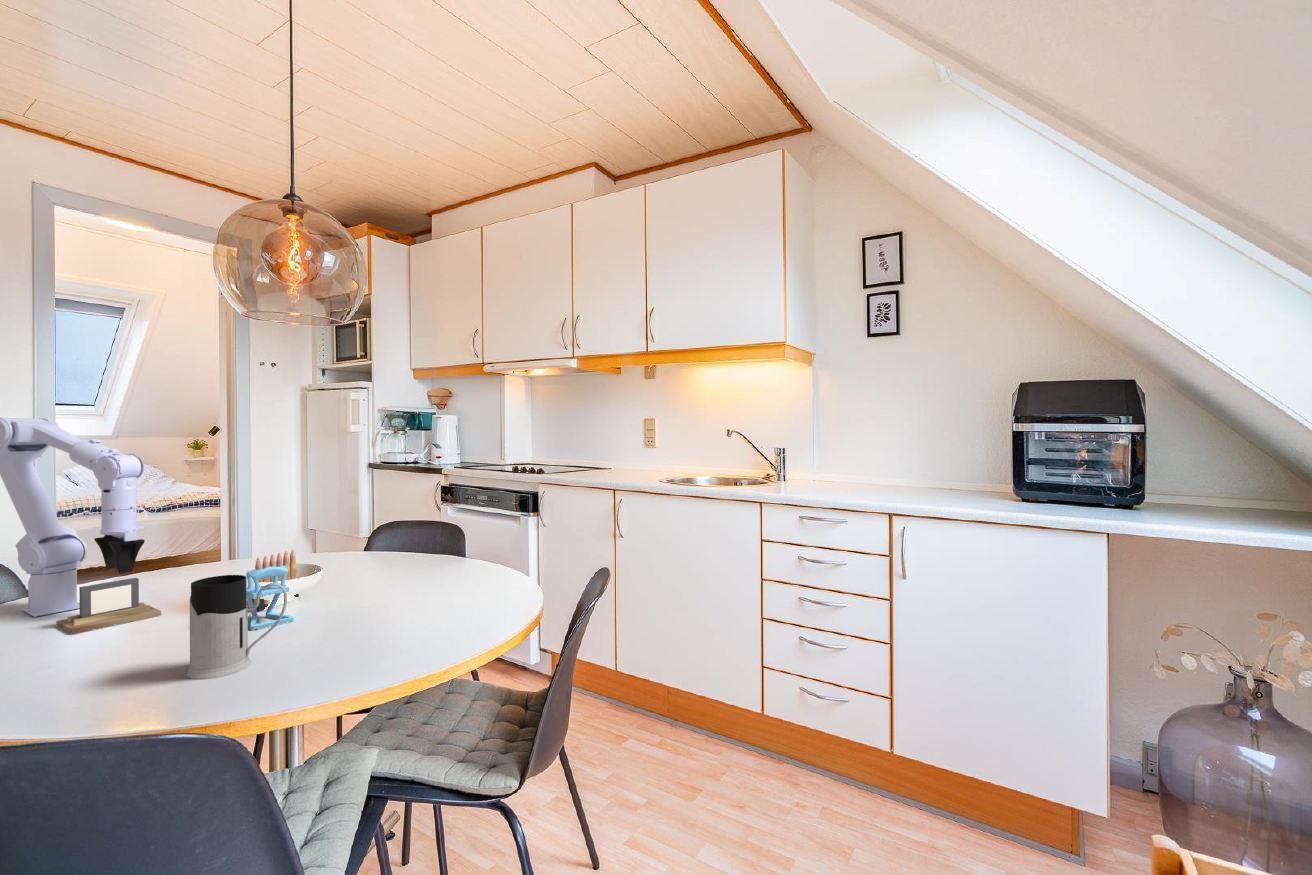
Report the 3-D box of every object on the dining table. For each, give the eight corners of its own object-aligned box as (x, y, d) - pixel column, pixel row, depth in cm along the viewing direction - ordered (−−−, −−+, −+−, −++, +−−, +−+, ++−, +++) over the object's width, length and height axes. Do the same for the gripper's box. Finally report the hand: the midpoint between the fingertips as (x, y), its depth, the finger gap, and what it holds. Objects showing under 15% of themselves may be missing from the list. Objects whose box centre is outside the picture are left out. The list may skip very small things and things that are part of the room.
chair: (280, 613, 127) (280, 559, 127) (294, 621, 122) (294, 564, 122) (239, 622, 121) (238, 565, 121) (251, 630, 116) (251, 571, 116)
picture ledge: (56, 625, 118) (56, 615, 118) (143, 607, 130) (143, 599, 130) (72, 634, 113) (72, 624, 113) (161, 615, 125) (161, 606, 125)
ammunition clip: (257, 612, 128) (257, 558, 127) (251, 611, 128) (251, 558, 128) (299, 598, 138) (299, 549, 138) (293, 598, 138) (293, 548, 138)
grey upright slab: (79, 620, 118) (79, 587, 118) (136, 609, 126) (135, 577, 126) (82, 622, 118) (82, 588, 117) (139, 610, 125) (138, 578, 125)
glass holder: (198, 662, 100) (197, 576, 100) (292, 651, 105) (292, 569, 105) (177, 682, 92) (176, 589, 92) (280, 669, 97) (280, 581, 97)
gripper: (154, 509, 127) (154, 570, 127) (131, 504, 134) (131, 562, 135) (112, 513, 121) (112, 577, 121) (89, 507, 128) (89, 568, 129)
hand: (119, 570), depth 127 cm, fingers open, 7 cm apart
